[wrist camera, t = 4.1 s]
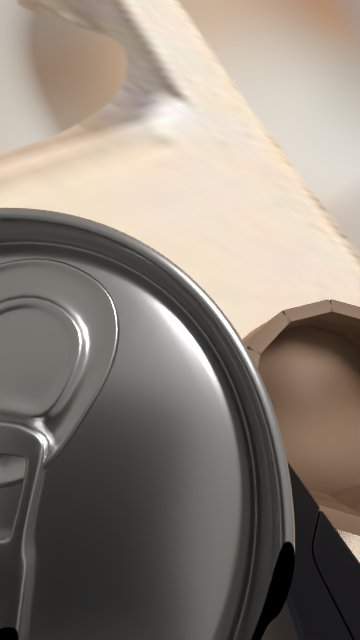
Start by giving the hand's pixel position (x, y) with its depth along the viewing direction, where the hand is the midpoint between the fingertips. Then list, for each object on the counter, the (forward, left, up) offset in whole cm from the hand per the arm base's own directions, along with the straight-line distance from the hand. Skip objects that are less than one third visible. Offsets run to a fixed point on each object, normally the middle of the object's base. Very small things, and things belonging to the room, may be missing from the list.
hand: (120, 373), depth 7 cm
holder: (-3, -8, -7) cm, 11 cm away
